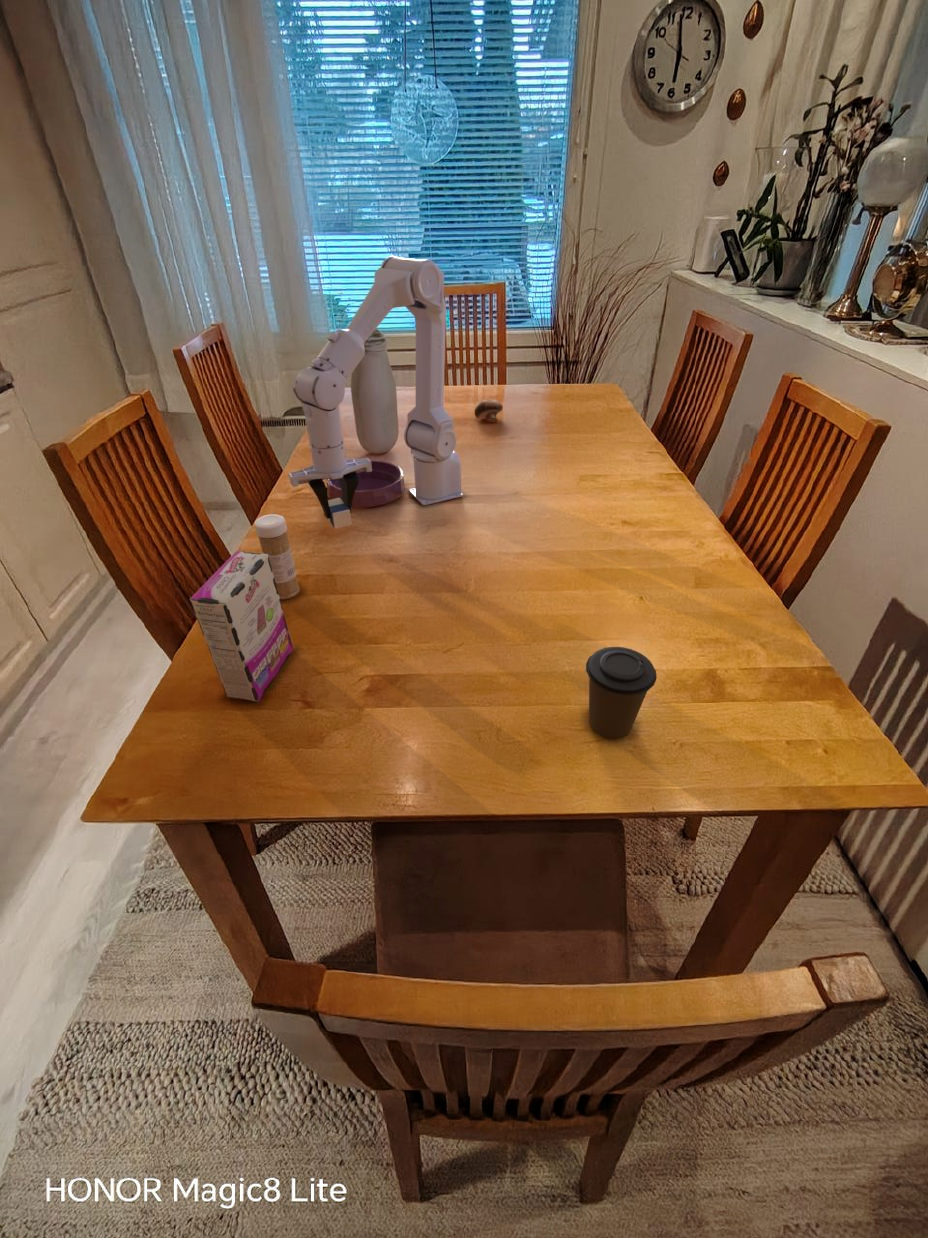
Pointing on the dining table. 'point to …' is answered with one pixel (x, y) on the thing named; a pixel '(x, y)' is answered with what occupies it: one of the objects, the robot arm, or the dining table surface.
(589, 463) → the dining table surface
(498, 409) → the mushroom
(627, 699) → the coffee cup
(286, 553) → the sprinkles bottle
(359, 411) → the white tall rounded piece
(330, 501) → the eraser
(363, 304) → the robot arm
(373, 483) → the bowl
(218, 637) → the candy bar box
